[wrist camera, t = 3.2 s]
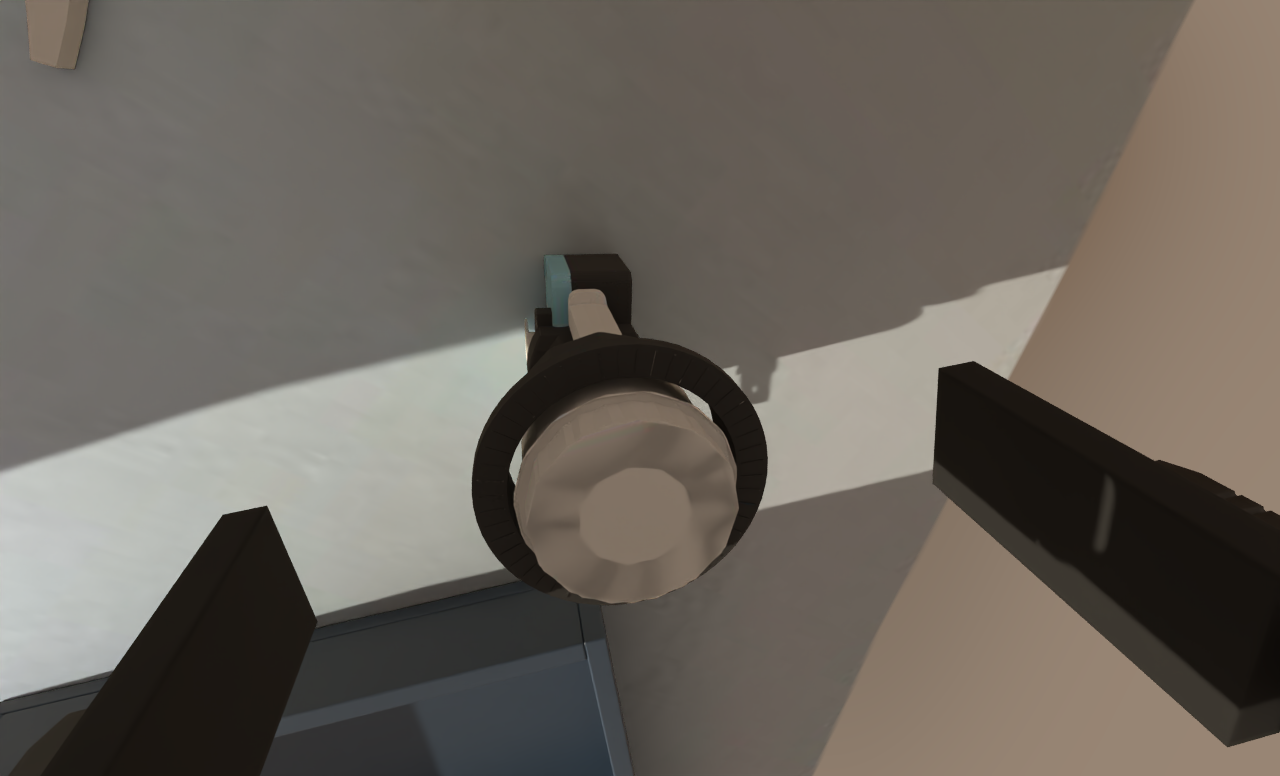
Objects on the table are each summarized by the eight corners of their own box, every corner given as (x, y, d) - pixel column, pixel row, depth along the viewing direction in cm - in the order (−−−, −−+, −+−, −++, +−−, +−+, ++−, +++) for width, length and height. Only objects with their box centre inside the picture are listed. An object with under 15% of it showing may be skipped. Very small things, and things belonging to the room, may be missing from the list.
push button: (657, 442, 22) (764, 678, 13) (492, 453, 21) (485, 716, 12) (665, 240, 19) (806, 358, 10) (478, 241, 19) (456, 374, 9)
